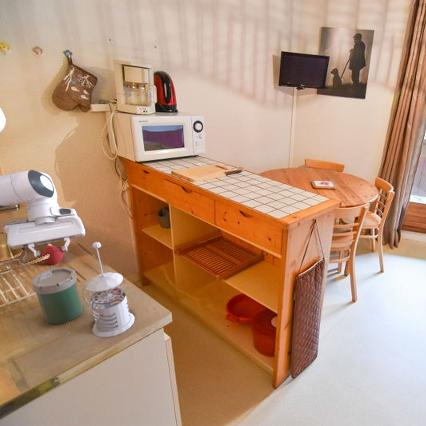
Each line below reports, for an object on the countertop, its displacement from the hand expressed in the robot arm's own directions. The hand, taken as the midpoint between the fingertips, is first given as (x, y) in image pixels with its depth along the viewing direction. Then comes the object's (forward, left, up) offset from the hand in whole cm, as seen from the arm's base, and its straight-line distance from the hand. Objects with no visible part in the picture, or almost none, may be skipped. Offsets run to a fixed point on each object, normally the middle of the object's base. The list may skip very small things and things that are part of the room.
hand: (52, 254), depth 106 cm
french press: (+21, -36, -5) cm, 42 cm away
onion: (0, +1, -5) cm, 5 cm away
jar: (+9, -28, -4) cm, 30 cm away
